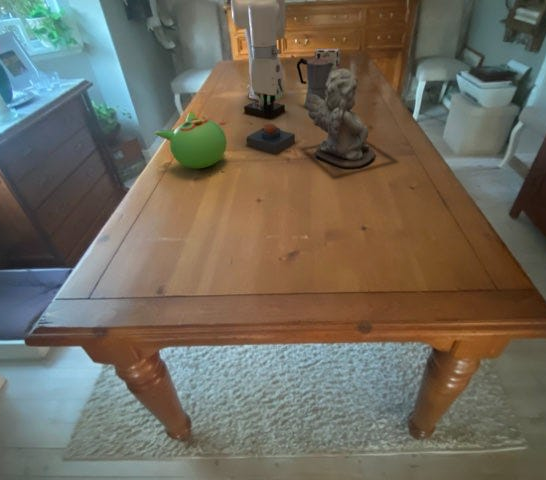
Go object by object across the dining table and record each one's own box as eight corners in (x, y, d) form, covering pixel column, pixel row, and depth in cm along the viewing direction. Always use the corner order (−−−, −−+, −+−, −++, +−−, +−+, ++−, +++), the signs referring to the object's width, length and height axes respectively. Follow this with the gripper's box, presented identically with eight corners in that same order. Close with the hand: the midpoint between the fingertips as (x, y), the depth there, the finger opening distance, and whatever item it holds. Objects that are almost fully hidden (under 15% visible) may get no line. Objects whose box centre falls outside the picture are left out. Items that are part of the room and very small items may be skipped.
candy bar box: (339, 87, 169) (341, 48, 157) (336, 90, 165) (338, 50, 154) (317, 86, 172) (317, 47, 161) (313, 88, 169) (314, 49, 157)
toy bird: (202, 182, 104) (191, 133, 94) (163, 169, 111) (149, 123, 101) (239, 158, 115) (233, 112, 105) (201, 148, 122) (192, 104, 112)
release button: (262, 132, 119) (261, 127, 118) (269, 128, 121) (268, 123, 120) (271, 134, 117) (270, 129, 116) (278, 130, 120) (277, 125, 118)
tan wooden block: (256, 105, 144) (255, 91, 140) (263, 102, 147) (262, 88, 143) (265, 107, 142) (263, 92, 138) (271, 104, 145) (270, 89, 141)
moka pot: (330, 110, 145) (333, 56, 132) (294, 109, 148) (293, 56, 134) (333, 103, 152) (336, 50, 139) (298, 102, 155) (298, 50, 141)
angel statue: (333, 177, 103) (339, 86, 86) (302, 149, 118) (301, 67, 101) (395, 161, 109) (411, 73, 92) (357, 137, 124) (365, 57, 107)
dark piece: (247, 146, 122) (245, 131, 119) (266, 135, 129) (265, 121, 125) (276, 154, 116) (275, 139, 113) (294, 142, 123) (294, 128, 119)
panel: (244, 113, 147) (243, 105, 145) (259, 106, 153) (258, 99, 150) (270, 119, 140) (270, 111, 138) (285, 112, 146) (284, 104, 144)
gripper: (292, 52, 102) (293, 116, 114) (253, 47, 109) (258, 108, 121) (277, 57, 98) (280, 123, 110) (237, 52, 105) (244, 115, 117)
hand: (269, 115), depth 116 cm, fingers closed
